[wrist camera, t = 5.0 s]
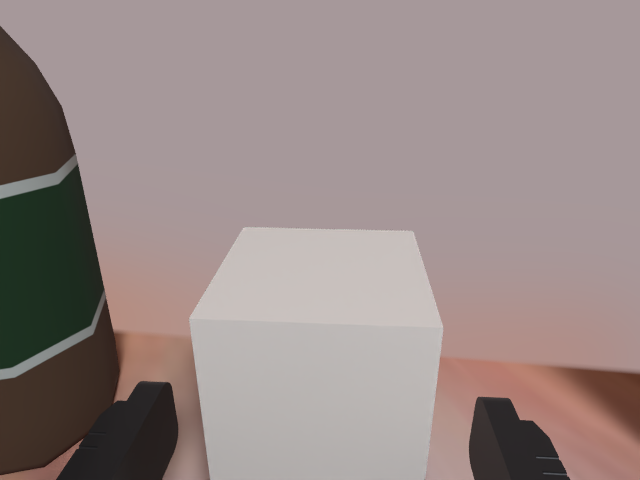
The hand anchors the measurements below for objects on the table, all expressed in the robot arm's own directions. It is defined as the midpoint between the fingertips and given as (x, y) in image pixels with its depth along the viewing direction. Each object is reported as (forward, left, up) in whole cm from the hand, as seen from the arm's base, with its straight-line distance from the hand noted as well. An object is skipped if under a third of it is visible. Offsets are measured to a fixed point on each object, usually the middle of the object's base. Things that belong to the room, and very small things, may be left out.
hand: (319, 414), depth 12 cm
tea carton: (0, +1, -6) cm, 6 cm away
